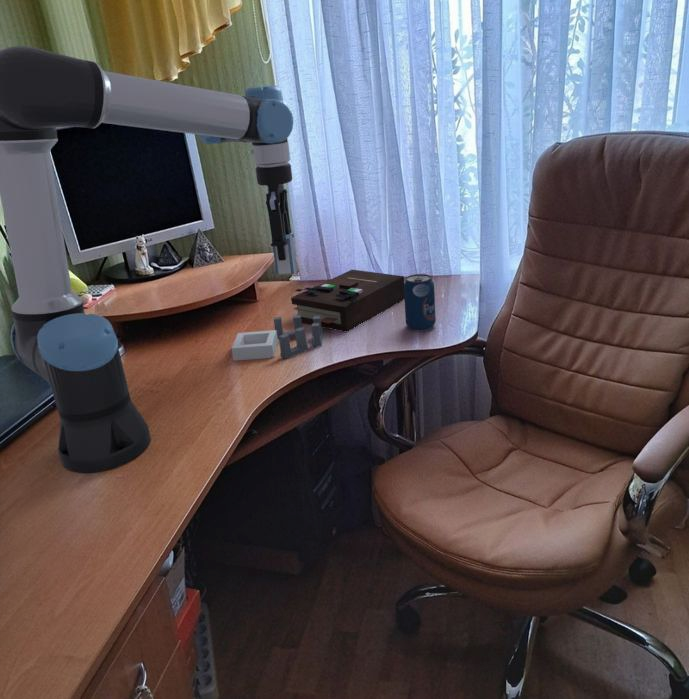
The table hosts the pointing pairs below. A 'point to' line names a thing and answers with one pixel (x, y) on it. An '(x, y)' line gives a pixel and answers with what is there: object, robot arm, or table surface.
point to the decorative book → (349, 299)
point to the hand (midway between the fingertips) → (286, 270)
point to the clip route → (297, 336)
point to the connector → (291, 254)
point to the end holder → (255, 345)
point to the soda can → (419, 302)
